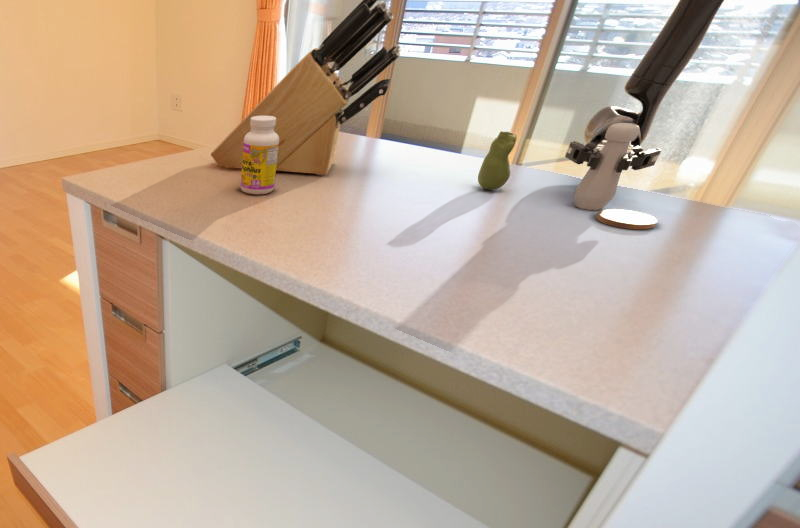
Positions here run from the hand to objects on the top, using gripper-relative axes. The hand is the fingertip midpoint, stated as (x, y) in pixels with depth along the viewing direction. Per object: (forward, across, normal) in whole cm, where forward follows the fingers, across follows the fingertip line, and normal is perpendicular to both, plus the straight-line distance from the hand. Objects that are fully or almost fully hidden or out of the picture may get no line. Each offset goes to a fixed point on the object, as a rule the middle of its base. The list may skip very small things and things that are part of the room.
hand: (608, 164), depth 89 cm
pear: (-6, -17, +8) cm, 19 cm away
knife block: (-2, -56, +8) cm, 57 cm away
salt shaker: (-3, 0, +8) cm, 8 cm away
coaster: (+3, +5, +8) cm, 10 cm away
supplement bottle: (+18, -55, +8) cm, 58 cm away
